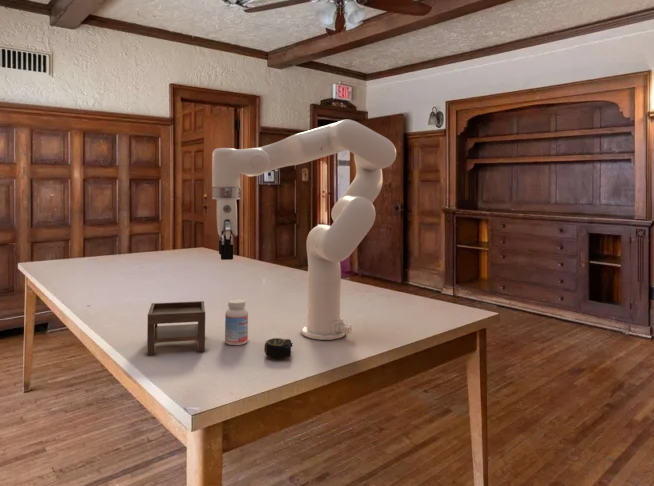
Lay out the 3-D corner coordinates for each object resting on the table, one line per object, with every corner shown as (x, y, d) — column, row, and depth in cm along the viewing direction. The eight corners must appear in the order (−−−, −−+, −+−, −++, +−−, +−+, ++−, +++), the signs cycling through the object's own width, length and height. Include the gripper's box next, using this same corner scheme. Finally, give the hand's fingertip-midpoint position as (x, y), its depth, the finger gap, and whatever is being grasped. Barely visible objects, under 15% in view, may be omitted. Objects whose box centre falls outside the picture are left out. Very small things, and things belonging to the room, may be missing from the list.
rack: (203, 337, 130) (204, 301, 130) (204, 351, 118) (205, 312, 118) (151, 340, 127) (151, 303, 127) (147, 355, 115) (147, 314, 115)
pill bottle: (243, 346, 123) (243, 304, 122) (221, 344, 124) (222, 303, 124) (250, 339, 129) (251, 299, 128) (229, 337, 130) (230, 298, 130)
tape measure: (290, 362, 112) (290, 346, 112) (262, 360, 113) (262, 345, 113) (292, 352, 119) (292, 337, 119) (266, 351, 119) (266, 336, 119)
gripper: (243, 194, 118) (242, 261, 119) (237, 193, 135) (236, 252, 135) (213, 194, 117) (212, 262, 117) (211, 193, 133) (210, 253, 134)
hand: (225, 256), depth 126 cm, fingers open, 9 cm apart
